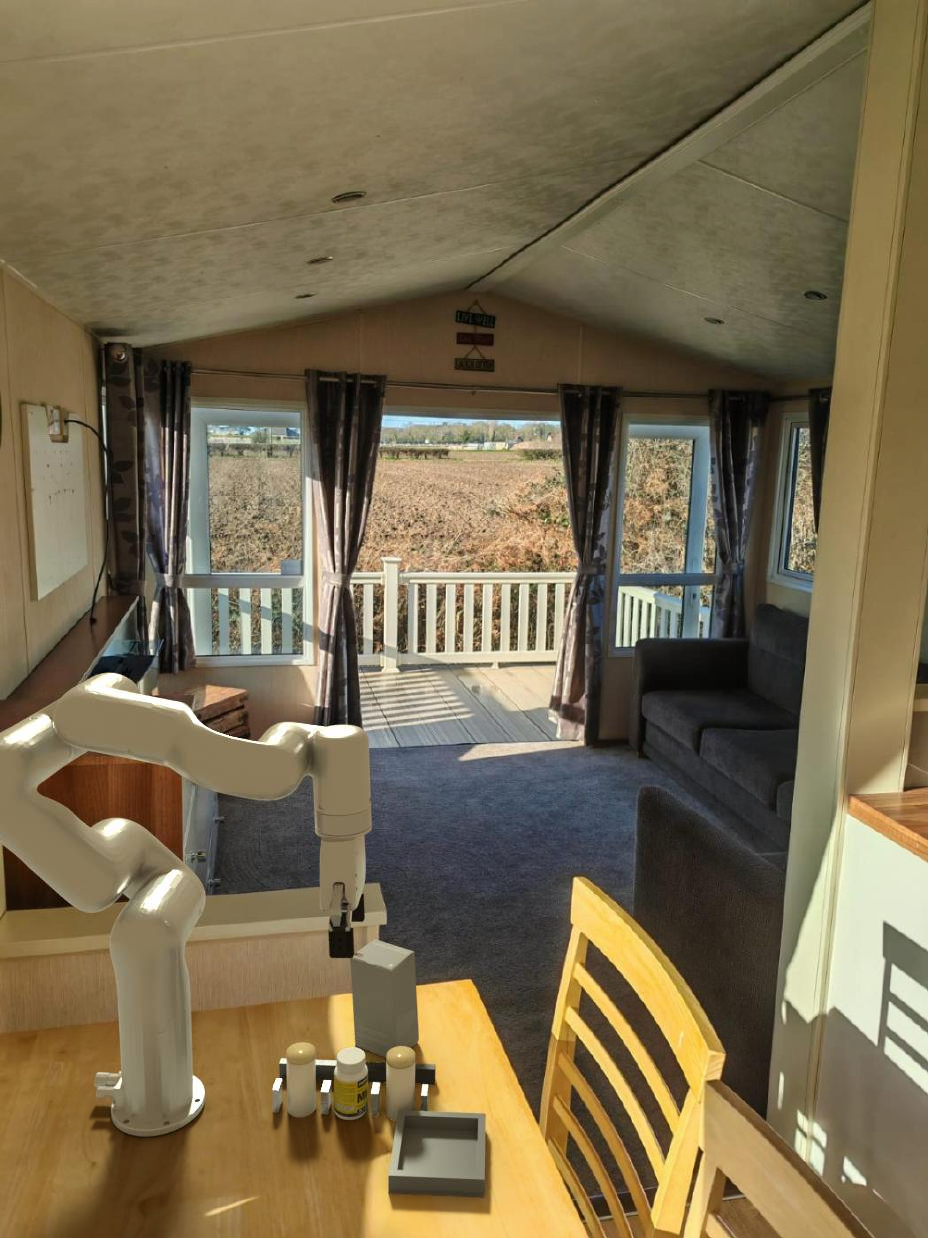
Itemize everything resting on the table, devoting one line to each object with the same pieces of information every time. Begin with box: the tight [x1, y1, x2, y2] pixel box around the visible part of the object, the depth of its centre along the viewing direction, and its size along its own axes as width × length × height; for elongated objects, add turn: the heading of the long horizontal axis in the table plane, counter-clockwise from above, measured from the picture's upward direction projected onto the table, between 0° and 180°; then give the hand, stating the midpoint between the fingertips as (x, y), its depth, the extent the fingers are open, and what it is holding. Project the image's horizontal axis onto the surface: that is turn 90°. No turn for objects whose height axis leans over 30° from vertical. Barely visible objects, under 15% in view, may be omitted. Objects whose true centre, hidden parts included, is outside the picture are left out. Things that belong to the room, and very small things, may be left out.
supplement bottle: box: [333, 1046, 369, 1121], centre depth 132 cm, size 5×5×8 cm
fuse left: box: [285, 1041, 317, 1118], centre depth 133 cm, size 4×4×9 cm
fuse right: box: [385, 1046, 416, 1122], centre depth 132 cm, size 4×4×9 cm
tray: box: [387, 1110, 487, 1198], centre depth 124 cm, size 12×12×2 cm
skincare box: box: [349, 938, 420, 1059], centre depth 146 cm, size 8×7×16 cm
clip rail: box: [272, 1057, 437, 1117], centre depth 136 cm, size 23×8×4 cm, turn 88°
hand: (347, 938), depth 128 cm, fingers open, 9 cm apart
